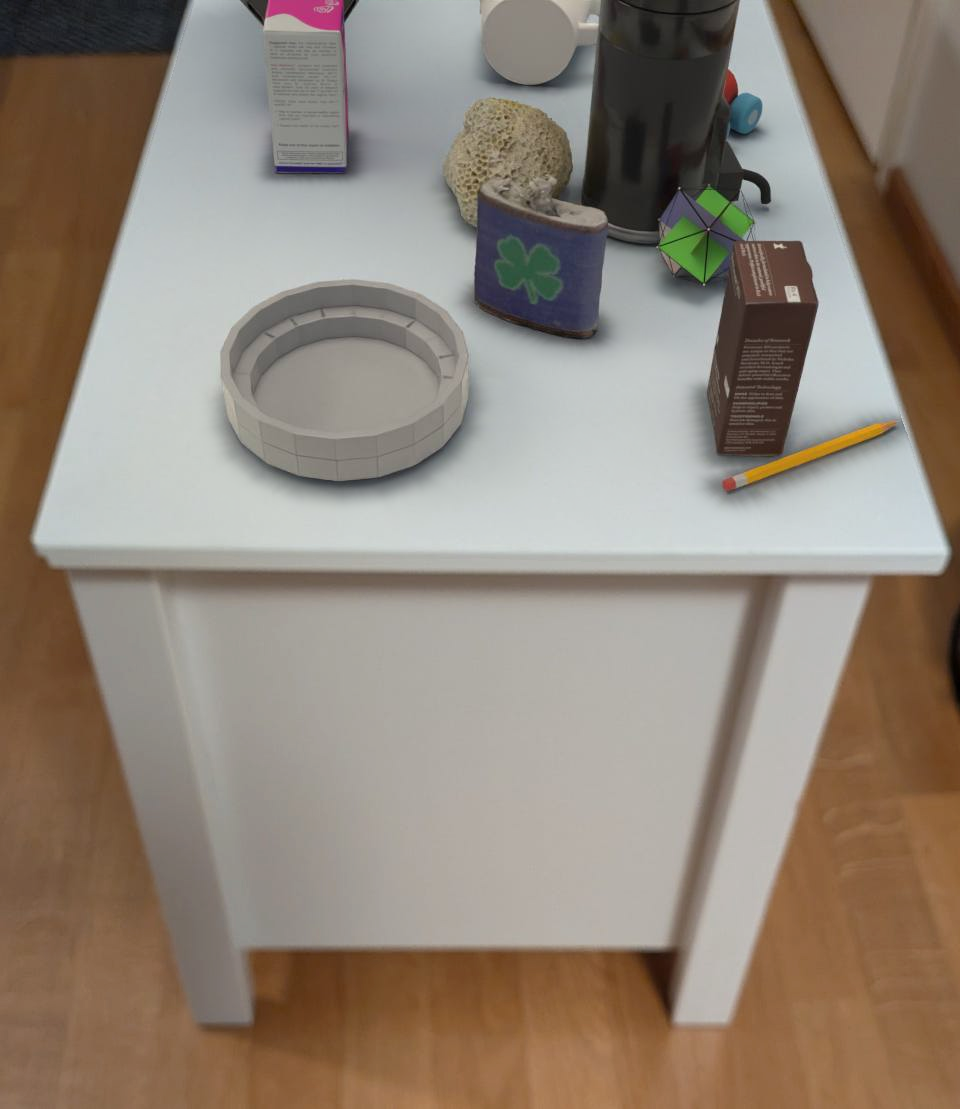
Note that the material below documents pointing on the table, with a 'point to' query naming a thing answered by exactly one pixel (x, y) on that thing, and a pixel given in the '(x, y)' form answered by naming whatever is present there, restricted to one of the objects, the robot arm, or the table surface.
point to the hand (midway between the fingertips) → (309, 81)
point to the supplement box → (307, 85)
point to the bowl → (345, 379)
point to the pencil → (806, 455)
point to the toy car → (741, 107)
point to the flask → (539, 257)
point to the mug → (535, 36)
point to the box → (761, 346)
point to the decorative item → (505, 151)
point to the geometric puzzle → (701, 232)
